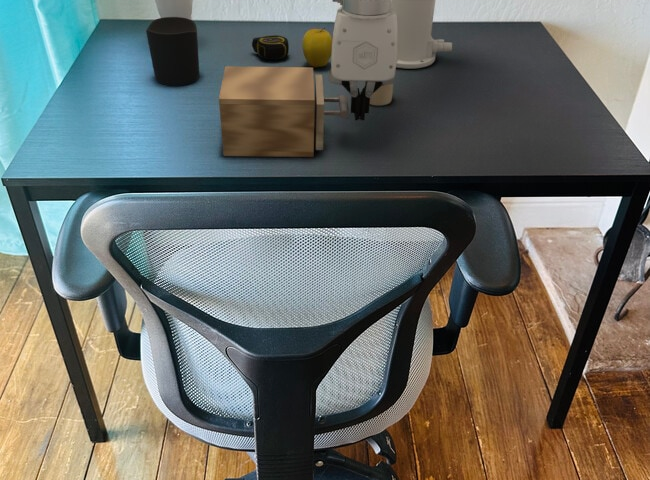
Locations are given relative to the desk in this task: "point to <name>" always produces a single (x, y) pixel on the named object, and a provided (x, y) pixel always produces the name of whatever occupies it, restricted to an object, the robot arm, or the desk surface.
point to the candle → (382, 95)
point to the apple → (317, 47)
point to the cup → (175, 8)
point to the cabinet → (267, 111)
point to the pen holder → (174, 50)
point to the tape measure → (271, 47)
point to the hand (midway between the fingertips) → (359, 116)
